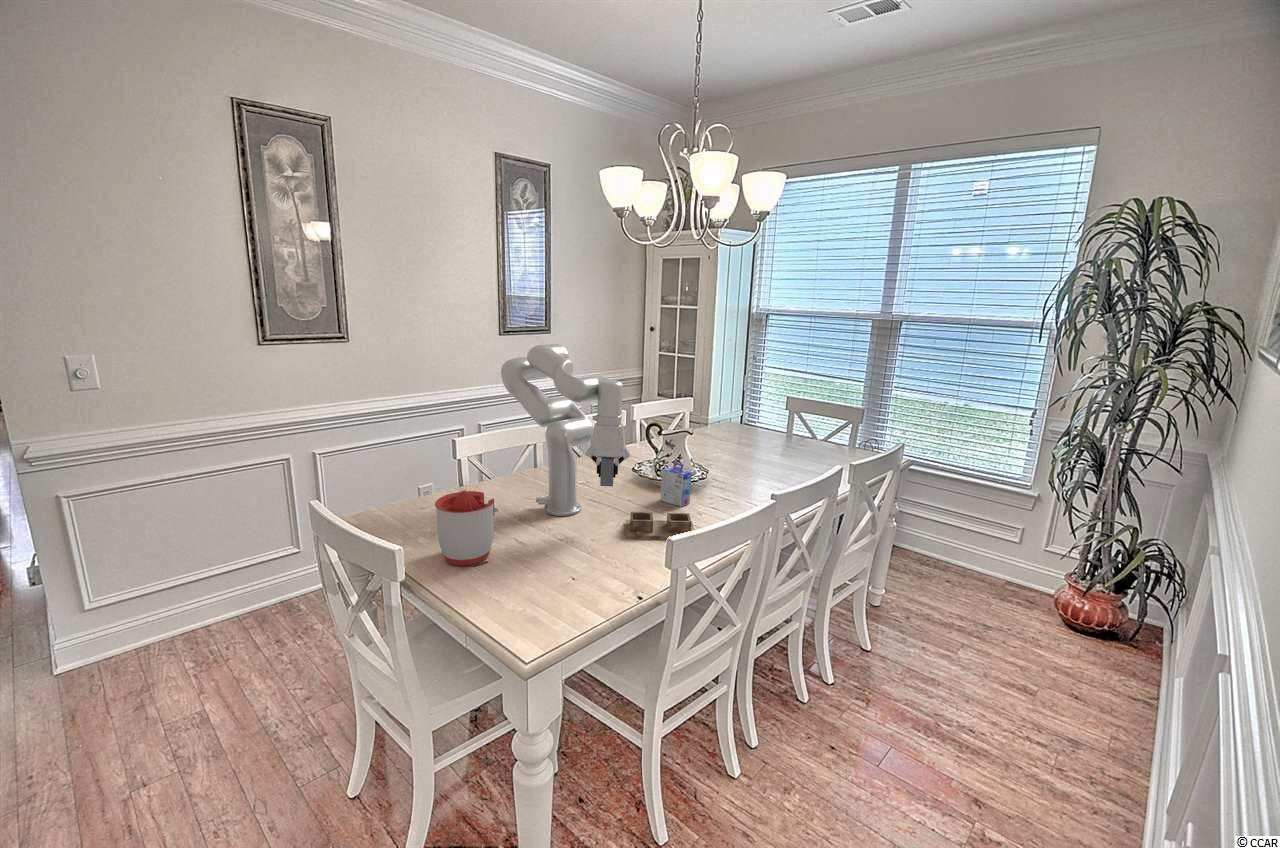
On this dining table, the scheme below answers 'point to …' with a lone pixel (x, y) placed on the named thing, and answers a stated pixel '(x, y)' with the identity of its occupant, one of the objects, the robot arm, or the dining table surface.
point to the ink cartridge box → (676, 485)
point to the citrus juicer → (465, 527)
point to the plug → (607, 471)
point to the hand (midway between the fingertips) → (607, 475)
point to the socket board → (657, 525)
